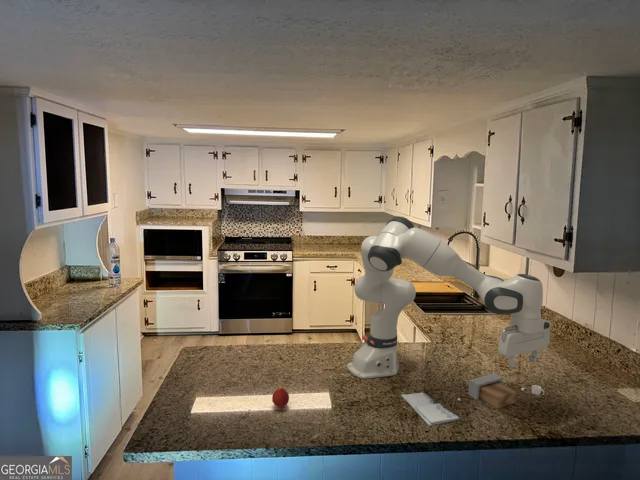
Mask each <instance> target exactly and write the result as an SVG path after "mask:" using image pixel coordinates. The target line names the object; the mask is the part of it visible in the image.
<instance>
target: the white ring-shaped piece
mask: <svg viewBox="0 0 640 480" xmlns="http://www.w3.org/2000/svg"><path fill="white" fill-rule="evenodd" d="M524 389H526V387H522V388H521V391H524ZM542 392H543V393H542ZM531 393H532V394H533V395H541V396H544V394H545V390H543V389H542V387H541V386H540V385H538V384H533V385H531ZM541 393H542V394H541Z"/></svg>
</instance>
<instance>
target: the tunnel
mask: <svg viewBox="0 0 640 480" xmlns="http://www.w3.org/2000/svg"><path fill="white" fill-rule="evenodd" d="M503 381H504V377H502V376H500V375H498V374H496V373H489V374H487V375H482V376H479V377H475V378H471V379H468V395H469V396H470V397H472V398H473V399H475V400H479V399H480V398H479V389H480V386H483V385H486V384H490V383H493V382H499V383H500V384H502V385H503Z"/></svg>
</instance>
